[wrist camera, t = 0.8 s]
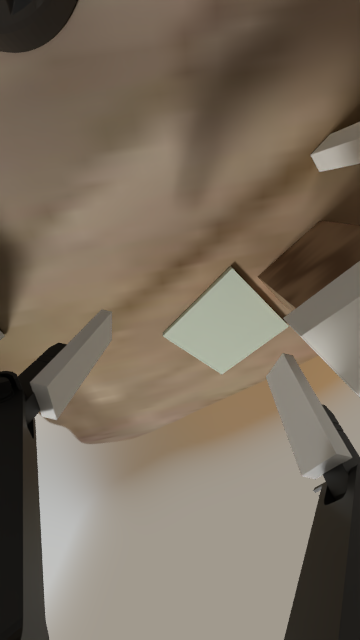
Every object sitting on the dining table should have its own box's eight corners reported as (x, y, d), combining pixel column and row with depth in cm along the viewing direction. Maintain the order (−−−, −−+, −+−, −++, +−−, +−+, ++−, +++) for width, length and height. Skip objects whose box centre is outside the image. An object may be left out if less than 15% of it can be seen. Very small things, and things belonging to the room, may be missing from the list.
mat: (220, 371, 35) (221, 374, 34) (162, 333, 29) (162, 336, 28) (286, 323, 29) (288, 326, 29) (230, 266, 24) (232, 268, 23)
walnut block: (281, 302, 27) (356, 368, 16) (257, 276, 25) (326, 334, 14) (340, 255, 24) (484, 298, 13) (320, 220, 22) (475, 238, 11)
